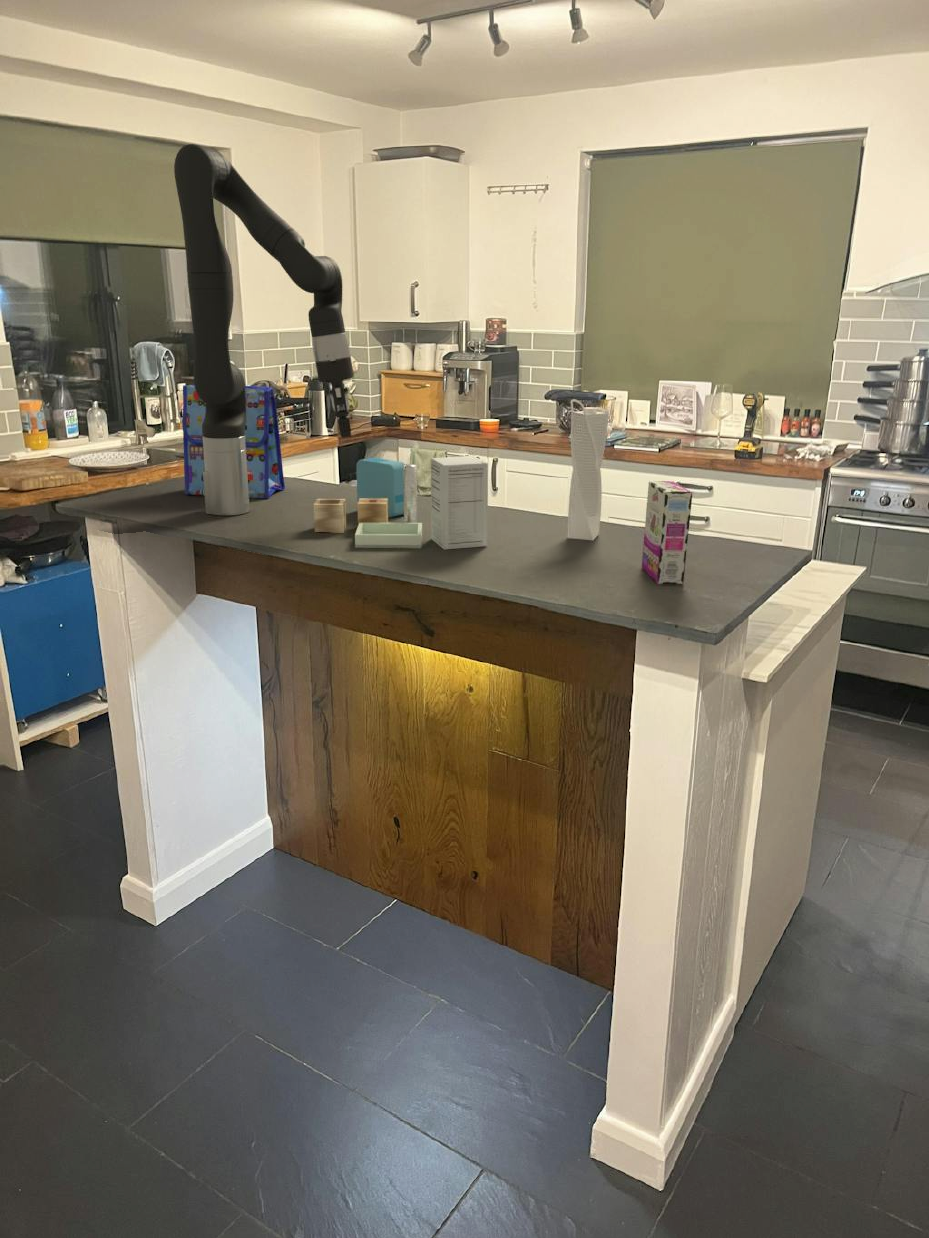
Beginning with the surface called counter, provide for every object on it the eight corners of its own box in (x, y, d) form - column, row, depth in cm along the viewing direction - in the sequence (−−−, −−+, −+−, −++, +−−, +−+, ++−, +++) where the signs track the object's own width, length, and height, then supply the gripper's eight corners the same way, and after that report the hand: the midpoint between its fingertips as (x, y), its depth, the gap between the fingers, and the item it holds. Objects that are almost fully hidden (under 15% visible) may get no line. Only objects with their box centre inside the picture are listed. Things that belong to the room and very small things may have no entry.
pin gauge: (403, 532, 197) (403, 466, 192) (404, 529, 200) (403, 464, 195) (417, 532, 197) (416, 466, 193) (417, 529, 200) (417, 464, 195)
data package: (408, 515, 213) (407, 462, 209) (394, 518, 210) (393, 465, 206) (370, 507, 220) (369, 456, 217) (356, 510, 217) (355, 459, 213)
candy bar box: (685, 585, 162) (694, 492, 157) (657, 585, 162) (665, 492, 157) (667, 568, 173) (674, 480, 168) (640, 568, 173) (647, 480, 167)
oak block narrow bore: (358, 531, 197) (357, 503, 195) (360, 525, 203) (359, 498, 201) (386, 532, 197) (386, 504, 195) (388, 525, 203) (387, 498, 201)
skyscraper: (559, 538, 194) (565, 400, 185) (568, 530, 200) (574, 397, 191) (597, 542, 191) (605, 402, 182) (604, 534, 198) (612, 399, 189)
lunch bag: (184, 496, 231) (173, 375, 222) (206, 486, 244) (197, 372, 234) (269, 499, 228) (262, 378, 219) (286, 489, 241) (280, 373, 232)
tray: (355, 547, 184) (354, 535, 183) (359, 534, 195) (359, 522, 194) (421, 548, 185) (421, 535, 184) (422, 535, 195) (422, 522, 194)
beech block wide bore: (314, 532, 196) (313, 504, 194) (318, 526, 202) (317, 498, 200) (343, 533, 196) (342, 504, 194) (346, 526, 202) (345, 499, 200)
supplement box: (473, 536, 195) (474, 455, 189) (488, 546, 186) (490, 462, 181) (429, 539, 192) (429, 457, 186) (442, 550, 184) (443, 464, 178)
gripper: (315, 358, 203) (329, 433, 208) (313, 361, 189) (328, 441, 194) (350, 353, 203) (362, 428, 208) (350, 356, 190) (364, 435, 195)
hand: (346, 434), depth 201 cm, fingers open, 8 cm apart
